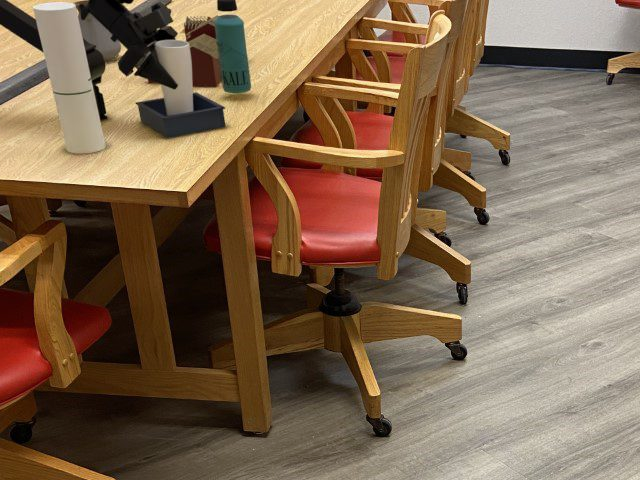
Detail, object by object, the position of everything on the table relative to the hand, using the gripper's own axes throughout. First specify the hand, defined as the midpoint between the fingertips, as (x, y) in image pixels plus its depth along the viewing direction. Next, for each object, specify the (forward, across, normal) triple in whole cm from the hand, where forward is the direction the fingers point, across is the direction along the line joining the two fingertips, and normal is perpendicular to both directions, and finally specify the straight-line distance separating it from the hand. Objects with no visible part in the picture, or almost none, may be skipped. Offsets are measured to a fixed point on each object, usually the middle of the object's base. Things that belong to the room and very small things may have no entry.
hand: (182, 83), depth 194 cm
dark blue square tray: (+5, 0, +7) cm, 8 cm away
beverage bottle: (+8, +22, +4) cm, 24 cm away
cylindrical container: (-4, -17, +16) cm, 24 cm away
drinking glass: (+4, 0, +7) cm, 8 cm away
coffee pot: (-21, +43, +34) cm, 59 cm away
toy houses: (-4, +50, +16) cm, 52 cm away
